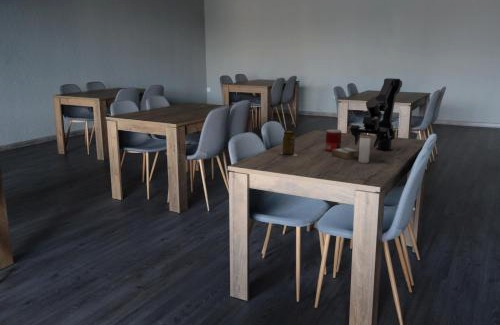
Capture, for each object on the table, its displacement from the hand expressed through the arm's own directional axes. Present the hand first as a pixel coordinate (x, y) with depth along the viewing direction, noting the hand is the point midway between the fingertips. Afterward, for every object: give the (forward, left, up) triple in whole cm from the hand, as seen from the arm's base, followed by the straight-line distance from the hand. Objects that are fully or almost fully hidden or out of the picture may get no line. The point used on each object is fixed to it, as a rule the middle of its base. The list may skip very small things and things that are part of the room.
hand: (364, 145), depth 223 cm
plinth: (+1, -13, -8) cm, 15 cm away
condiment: (+26, -28, -8) cm, 39 cm away
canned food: (-1, -27, -8) cm, 28 cm away
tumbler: (0, 0, -8) cm, 8 cm away
